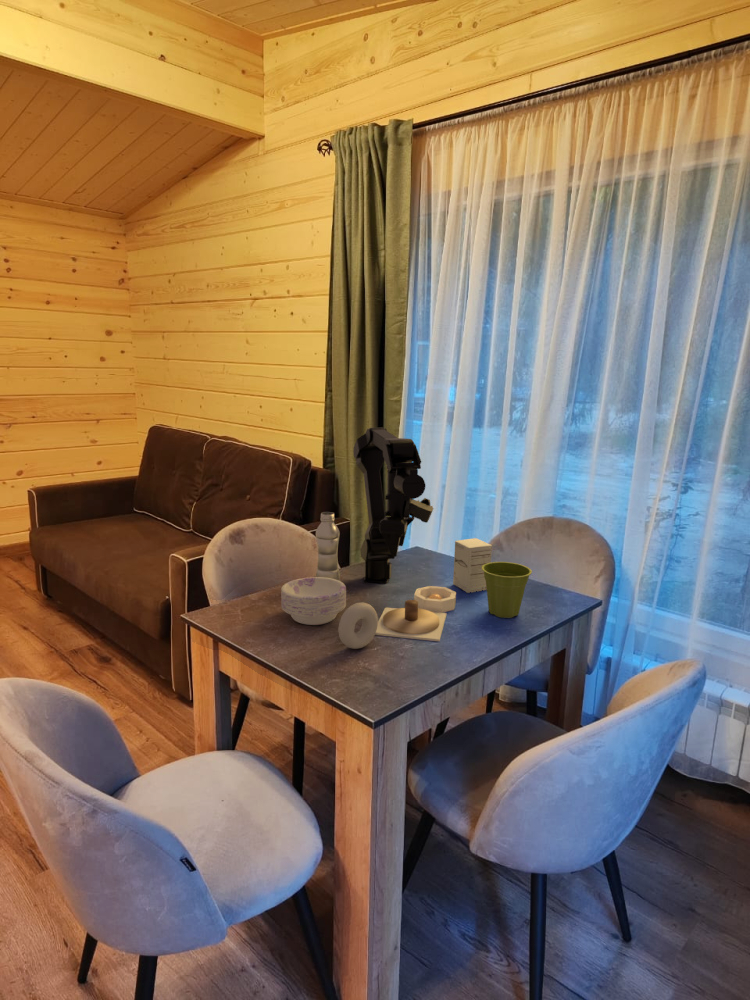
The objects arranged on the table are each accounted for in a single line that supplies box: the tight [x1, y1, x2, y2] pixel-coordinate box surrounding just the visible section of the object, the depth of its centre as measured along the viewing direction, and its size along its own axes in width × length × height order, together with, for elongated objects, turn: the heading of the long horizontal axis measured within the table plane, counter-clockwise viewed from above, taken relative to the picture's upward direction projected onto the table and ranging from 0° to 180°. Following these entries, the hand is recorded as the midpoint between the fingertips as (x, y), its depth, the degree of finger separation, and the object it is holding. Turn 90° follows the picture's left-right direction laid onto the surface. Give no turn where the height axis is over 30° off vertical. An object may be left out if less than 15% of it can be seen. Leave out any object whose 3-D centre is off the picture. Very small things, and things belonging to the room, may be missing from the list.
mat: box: [374, 607, 447, 642], centre depth 147 cm, size 15×15×1 cm
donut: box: [337, 602, 379, 650], centre depth 134 cm, size 10×4×10 cm, turn 131°
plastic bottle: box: [315, 511, 341, 581], centre depth 170 cm, size 6×7×20 cm
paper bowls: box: [280, 576, 347, 626], centre depth 150 cm, size 15×15×8 cm
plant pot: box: [482, 561, 533, 619], centre depth 154 cm, size 12×12×11 cm
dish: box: [413, 585, 457, 613], centre depth 159 cm, size 10×10×4 cm
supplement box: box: [452, 537, 493, 594], centre depth 171 cm, size 7×7×13 cm
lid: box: [383, 599, 439, 634], centre depth 147 cm, size 13×13×5 cm
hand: (397, 550), depth 160 cm, fingers open, 9 cm apart
